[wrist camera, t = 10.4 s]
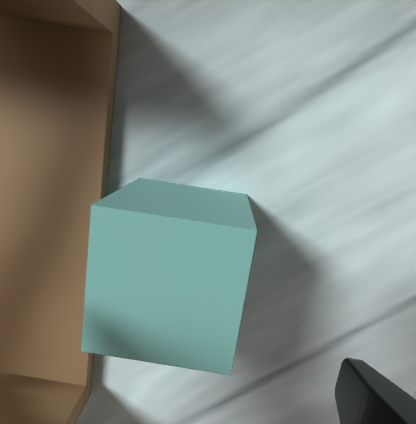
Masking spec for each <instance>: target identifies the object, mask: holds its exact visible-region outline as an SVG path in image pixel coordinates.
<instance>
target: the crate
mask: <svg viewBox="0 0 416 424" xmlns="http://www.w3.org/2000/svg"><path fill="white" fill-rule="evenodd" d="M120 17H121V6H120V4H119V3H118V2H117V1H116V0H0V424H75V423H76V421H77V419H78V417H79V415H80V413H81V411H82V409H83V407H84V406H85V404H86V402H87V400H88V398H89V396H90V391H91V378H92V366H93V353H89V352H83V351H81V344H82V330H83V316H84V301H85V287H86V273H87V258H88V244H89V230H90V215H91V205H92V204H94V203H96V202H97V201H99V200H101V199H103V198H105V197H106V192H107V179H108V167H109V154H110V142H111V129H112V117H113V104H114V92H115V79H116V67H117V55H118V42H119V30H120Z"/></svg>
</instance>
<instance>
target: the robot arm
mask: <svg viewBox="0 0 416 424" xmlns="http://www.w3.org/2000/svg"><path fill="white" fill-rule="evenodd" d="M335 399H336V404H337V409H338V414H339V419H340V424H416V399H414V398H413V397H411V396H410V395H409V394H407V393H406V392H405V391H403V390H402V389H401V388H399V387H398V386H397V385H395V384H394V383H392V382H391V381H390V380H388V379H387V378H386V377H384V376H383V375H382V374H380V373H379V372H377V371H376V370H375V369H373V368H372V367H371V366H369V365H368V364H367V363H365V362H364V361H362V360H358V359H352V358H345V359H344V360H343V362H342V364H341V368H340V371H339V375H338V379H337V383H336V387H335Z"/></svg>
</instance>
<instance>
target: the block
mask: <svg viewBox="0 0 416 424" xmlns="http://www.w3.org/2000/svg"><path fill="white" fill-rule="evenodd" d="M256 234H257V228H256V224H255V221H254V217H253V214H252V210H251V207H250V203H249V200H248V196H247V194H241V193H234V192H228V191H221V190H214V189H208V188H201V187H195V186H188V185H181V184H175V183H168V182H162V181H155V180H148V179H142V178H138V179H137V180H135V181H133V182H131V183H129V184H128V185H126V186H124V187H122V188H121V189H119V190H117V191H115V192H113V193H112V194H110V195H108V196H106V197H105V198H103V199H101V200H99V201H97V202H96V203H94V204H92V205H91V215H90V230H89V244H88V258H87V273H86V287H85V301H84V316H83V330H82V344H81V351H83V352H89V353H95V354H102V355H108V356H114V357H120V358H126V359H133V360H139V361H145V362H151V363H157V364H163V365H170V366H176V367H182V368H188V369H194V370H201V371H207V372H213V373H219V374H225V375H231V371H232V365H233V360H234V354H235V349H236V344H237V338H238V333H239V327H240V322H241V316H242V311H243V305H244V300H245V294H246V289H247V283H248V278H249V273H250V267H251V262H252V256H253V251H254V245H255V240H256Z"/></svg>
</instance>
